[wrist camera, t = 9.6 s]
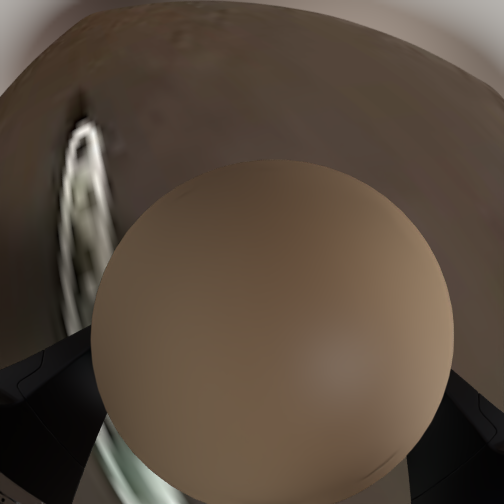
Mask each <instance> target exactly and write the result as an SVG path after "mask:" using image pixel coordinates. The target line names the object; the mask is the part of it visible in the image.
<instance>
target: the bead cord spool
mask: <svg viewBox="0 0 504 504" xmlns="http://www.w3.org/2000/svg"><path fill="white" fill-rule="evenodd" d="M453 344H454V326H453V315H452V307H451V302H450V298H449V293H448V289H447V285H446V283H445V280H444V277H443V274H442V272H441V269H440V266H439V264H438V262H437V260H436V258H435V256H434V254H433V252H432V251H431V249H430V247H429V245H428V244H427V242H426V241H425V239H424V238H423V236H422V235H421V233H420V232H419V231H418V229H417V228H416V227H415V226H414V224H413V223H412V222H411V221H410V220H409V219H408V218H407V217H406V215H405V214H404V213H403V212H402V211H401V210H400V209H399V208H397V207H396V206H395V205H394V204H393V203H392V202H391V201H389V200H388V199H387V198H386V197H385V196H383V195H382V194H380V193H379V192H377V191H376V190H374V189H373V188H371V187H370V186H368V185H367V184H365V183H363V182H361V181H359V180H357V179H355V178H353V177H351V176H349V175H347V174H344V173H341V172H339V171H336V170H333V169H331V168H328V167H324V166H320V165H316V164H311V163H307V162H300V161H291V160H257V161H249V162H241V163H237V164H232V165H228V166H224V167H220V168H217V169H214V170H212V171H209V172H206V173H204V174H201V175H199V176H197V177H195V178H193V179H191V180H189V181H187V182H185V183H183V184H181V185H179V186H178V187H176V188H175V189H173V190H172V191H170V192H169V193H167V194H166V195H164V196H163V197H162V198H160V199H159V200H158V201H157V202H155V203H154V204H153V205H152V206H151V207H150V208H149V209H148V210H146V211H145V212H144V213H143V214H142V215H141V216H140V217H139V219H138V220H137V221H136V222H135V223H134V224H133V225H132V227H131V228H130V229H129V230H128V231H127V233H126V234H125V236H124V237H123V239H122V240H121V242H120V243H119V245H118V246H117V248H116V249H115V251H114V253H113V255H112V257H111V259H110V261H109V263H108V265H107V267H106V269H105V271H104V274H103V276H102V279H101V282H100V285H99V288H98V291H97V295H96V299H95V304H94V309H93V315H92V326H91V351H92V363H93V369H94V373H95V378H96V382H97V387H98V390H99V393H100V395H101V398H102V401H103V403H104V406H105V409H106V411H107V413H108V415H109V417H110V419H111V420H112V422H113V424H114V426H115V428H116V430H117V431H118V433H119V434H120V436H121V437H122V438H123V440H124V441H125V443H126V444H127V445H128V447H129V448H130V449H131V450H132V452H133V453H134V454H135V455H136V456H137V457H138V458H139V459H140V460H141V461H142V462H143V463H144V464H145V465H146V466H147V467H148V468H149V469H150V470H151V471H152V472H154V473H155V474H156V475H157V476H159V477H160V478H161V479H163V480H164V481H165V482H167V483H168V484H169V485H171V486H173V487H174V488H176V489H178V490H180V491H181V492H183V493H185V494H187V495H189V496H191V497H192V498H195V499H197V500H200V501H202V502H205V503H207V504H334V503H337V502H340V501H343V500H345V499H347V498H349V497H351V496H353V495H355V494H357V493H359V492H361V491H363V490H364V489H366V488H368V487H369V486H371V485H372V484H374V483H375V482H377V481H378V480H379V479H381V478H382V477H384V476H385V475H386V474H387V473H389V472H390V471H391V470H392V469H393V468H394V467H395V466H396V465H398V464H399V463H400V462H401V461H402V460H403V459H404V458H405V457H406V456H407V454H408V453H409V452H410V451H411V450H412V449H413V447H414V446H415V445H416V444H417V442H418V441H419V440H420V439H421V437H422V435H423V434H424V432H425V431H426V429H427V428H428V426H429V424H430V423H431V421H432V419H433V417H434V415H435V413H436V411H437V409H438V407H439V405H440V402H441V400H442V398H443V395H444V391H445V388H446V385H447V382H448V378H449V374H450V369H451V363H452V357H453Z"/></svg>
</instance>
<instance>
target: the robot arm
mask: <svg viewBox="0 0 504 504" xmlns="http://www.w3.org/2000/svg"><path fill="white" fill-rule="evenodd" d="M91 326H92V325H90V326H88V327H86V328H84V329H82V330H80V331H78V332H76V333H74V334H73V335H71V336H69V337H67V338H65V339H63V340H61V341H59V342H57V343H55V344H53V345H52V346H50V347H48V348H46V349H45V350H42V351H40V352H38V353H36V354H34V355H32V356H30V357H28V358H26V359H24V360H22V361H20V362H18V363H15V364H13V365H11V366H8V367H6V368H4V369H1V370H0V504H42V503H43V502H44V503H46V504H72V502H73V500H74V497H75V494H76V491H77V488H78V485H79V483H80V480H81V477H82V475H83V472H84V468H85V466H86V464H87V461H88V458H89V456H90V453H91V451H92V448H93V446H94V443H95V441H96V438H97V436H98V433H99V431H100V429H101V426H102V424H103V422H104V419H105V417H106V415H107V411H106V409H105V406H104V403H103V401H102V398H101V395H100V393H99V390H98V387H97V382H96V378H95V373H94V369H93V363H92V351H91ZM406 457H407V465H408V473H409V483H410V494H411V504H504V413H503V412H502V411H500V410H499V409H498V408H497V407H495V406H494V405H493V404H492V403H490V402H489V401H488V400H487V399H486V398H485V397H483V396H482V395H481V394H480V393H478V391H477V390H475V389H474V388H473V387H472V386H471V385H470V384H468V383H467V382H466V381H465V380H464V379H463V378H461V377H460V376H459V375H458V374H457V373H455V372H454V371H453V370H452V369H450V374H449V378H448V382H447V385H446V388H445V391H444V395H443V398H442V400H441V402H440V405H439V407H438V409H437V411H436V413H435V415H434V417H433V419H432V421H431V423H430V424H429V426H428V428H427V429H426V431H425V432H424V434H423V435H422V437H421V439H420V440H419V441H418V442H417V444H416V445H415V446H414V447H413V449H412V450H411V451H410V452H409V453H408V454H407V456H406Z"/></svg>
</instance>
